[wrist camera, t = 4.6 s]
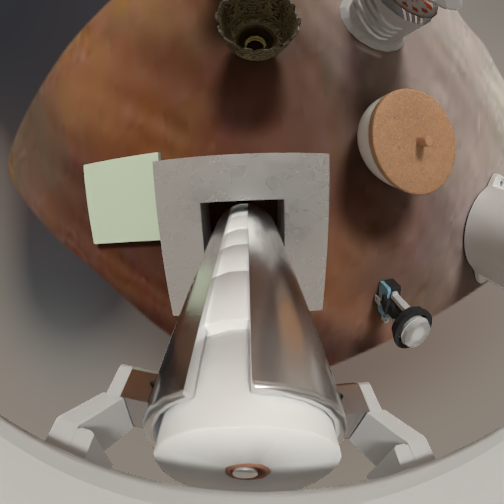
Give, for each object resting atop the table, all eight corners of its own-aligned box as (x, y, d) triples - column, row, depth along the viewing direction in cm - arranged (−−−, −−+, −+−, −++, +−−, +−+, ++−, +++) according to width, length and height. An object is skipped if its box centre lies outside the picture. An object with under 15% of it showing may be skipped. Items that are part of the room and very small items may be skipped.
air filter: (285, 214, 29) (401, 422, 5) (264, 268, 31) (296, 504, 7) (226, 194, 28) (136, 384, 5) (208, 251, 30) (133, 480, 7)
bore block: (313, 153, 29) (329, 153, 23) (310, 285, 34) (322, 309, 29) (169, 159, 29) (152, 161, 23) (183, 290, 34) (173, 315, 28)
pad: (160, 152, 28) (157, 152, 27) (168, 237, 32) (166, 239, 31) (87, 164, 28) (83, 165, 27) (97, 241, 32) (94, 244, 31)
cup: (294, 70, 25) (309, 46, 18) (228, 79, 26) (222, 55, 18) (280, 19, 23) (290, -15, 15) (217, 27, 23) (209, -6, 16)
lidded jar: (335, 100, 27) (369, 82, 18) (410, 99, 26) (456, 90, 17) (350, 190, 30) (388, 205, 21) (422, 180, 30) (469, 192, 21)
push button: (396, 313, 36) (428, 354, 27) (365, 321, 37) (393, 366, 27) (401, 273, 34) (440, 309, 25) (367, 280, 34) (402, 321, 25)
